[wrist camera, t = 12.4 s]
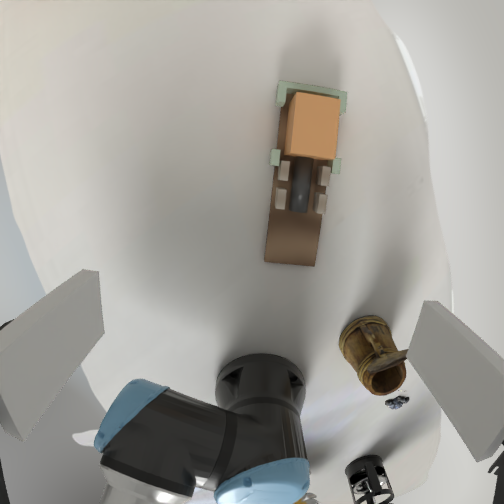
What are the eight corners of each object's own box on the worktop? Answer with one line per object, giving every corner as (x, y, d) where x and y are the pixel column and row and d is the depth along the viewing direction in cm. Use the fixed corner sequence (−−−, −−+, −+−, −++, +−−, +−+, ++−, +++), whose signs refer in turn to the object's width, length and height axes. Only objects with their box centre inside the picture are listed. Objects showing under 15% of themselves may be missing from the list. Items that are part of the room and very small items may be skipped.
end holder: (333, 173, 40) (339, 174, 37) (269, 165, 39) (270, 164, 37) (340, 96, 37) (347, 92, 34) (277, 86, 37) (279, 80, 34)
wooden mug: (378, 282, 45) (435, 341, 28) (392, 348, 48) (437, 416, 31) (325, 304, 46) (360, 376, 28) (345, 368, 49) (376, 445, 32)
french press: (379, 471, 59) (402, 540, 37) (344, 480, 60) (361, 552, 37) (384, 446, 56) (414, 523, 34) (345, 457, 56) (367, 538, 34)
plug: (314, 212, 41) (327, 221, 34) (278, 207, 41) (283, 216, 34) (326, 109, 37) (340, 99, 31) (289, 103, 37) (296, 91, 30)
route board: (313, 264, 44) (319, 274, 40) (264, 259, 44) (265, 269, 40) (333, 95, 38) (341, 89, 34) (282, 87, 38) (286, 79, 33)
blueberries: (381, 389, 52) (384, 395, 50) (418, 382, 51) (421, 388, 49) (376, 412, 54) (378, 418, 52) (411, 406, 53) (414, 411, 51)
